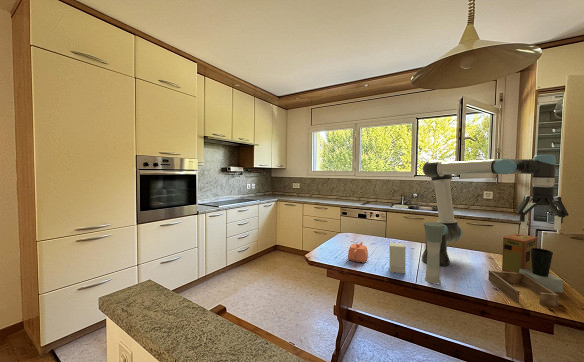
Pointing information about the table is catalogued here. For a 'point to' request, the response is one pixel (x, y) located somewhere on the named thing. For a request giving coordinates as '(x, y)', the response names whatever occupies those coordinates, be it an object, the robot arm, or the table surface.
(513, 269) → the box
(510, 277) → the walnut frame
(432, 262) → the container
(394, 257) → the skincare box
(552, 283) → the slate plinth
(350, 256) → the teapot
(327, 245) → the table surface
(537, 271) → the cup
